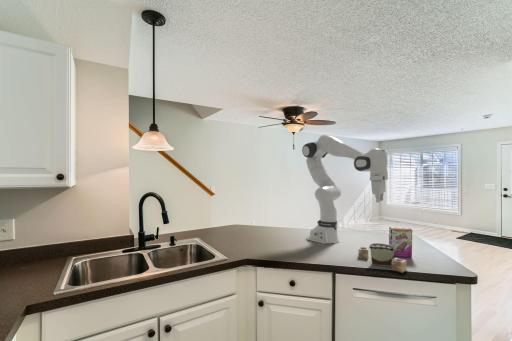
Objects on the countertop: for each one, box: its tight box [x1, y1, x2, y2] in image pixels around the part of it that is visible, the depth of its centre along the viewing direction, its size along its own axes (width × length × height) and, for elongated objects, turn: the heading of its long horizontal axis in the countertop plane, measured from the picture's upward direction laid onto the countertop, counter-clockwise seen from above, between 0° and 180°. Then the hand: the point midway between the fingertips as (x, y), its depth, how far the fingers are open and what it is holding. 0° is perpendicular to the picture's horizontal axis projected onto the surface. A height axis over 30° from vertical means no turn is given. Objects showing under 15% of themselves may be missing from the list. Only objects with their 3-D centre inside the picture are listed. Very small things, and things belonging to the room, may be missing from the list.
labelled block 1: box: [357, 246, 369, 260], centre depth 144 cm, size 5×5×5 cm
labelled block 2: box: [391, 257, 408, 273], centre depth 126 cm, size 5×5×5 cm
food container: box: [368, 243, 395, 268], centre depth 134 cm, size 12×6×10 cm, turn 71°
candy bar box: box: [388, 226, 413, 259], centre depth 145 cm, size 11×5×16 cm, turn 77°
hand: (379, 201), depth 141 cm, fingers open, 8 cm apart
